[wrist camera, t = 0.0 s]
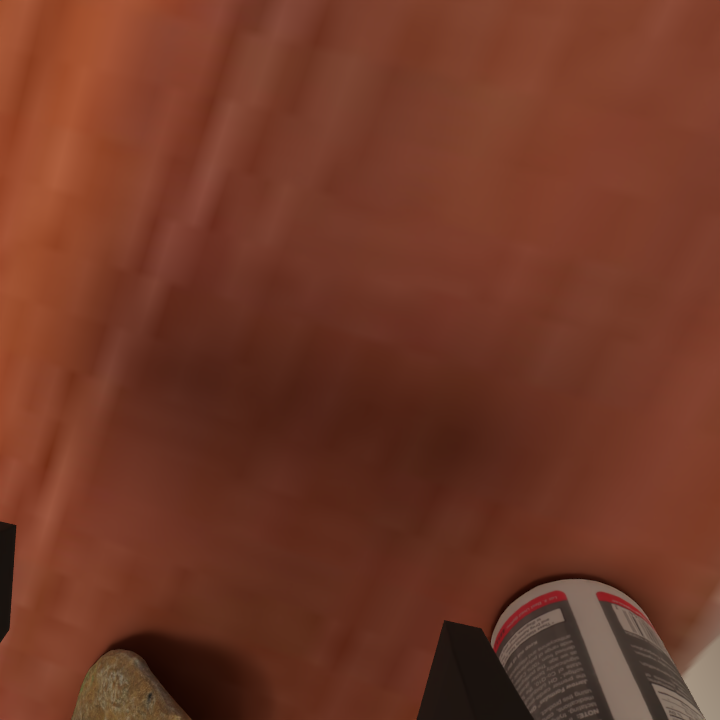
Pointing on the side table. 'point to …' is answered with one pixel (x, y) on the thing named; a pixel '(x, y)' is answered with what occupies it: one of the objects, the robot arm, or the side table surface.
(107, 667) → the fossil
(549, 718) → the pill bottle
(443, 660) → the robot arm
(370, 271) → the side table surface
